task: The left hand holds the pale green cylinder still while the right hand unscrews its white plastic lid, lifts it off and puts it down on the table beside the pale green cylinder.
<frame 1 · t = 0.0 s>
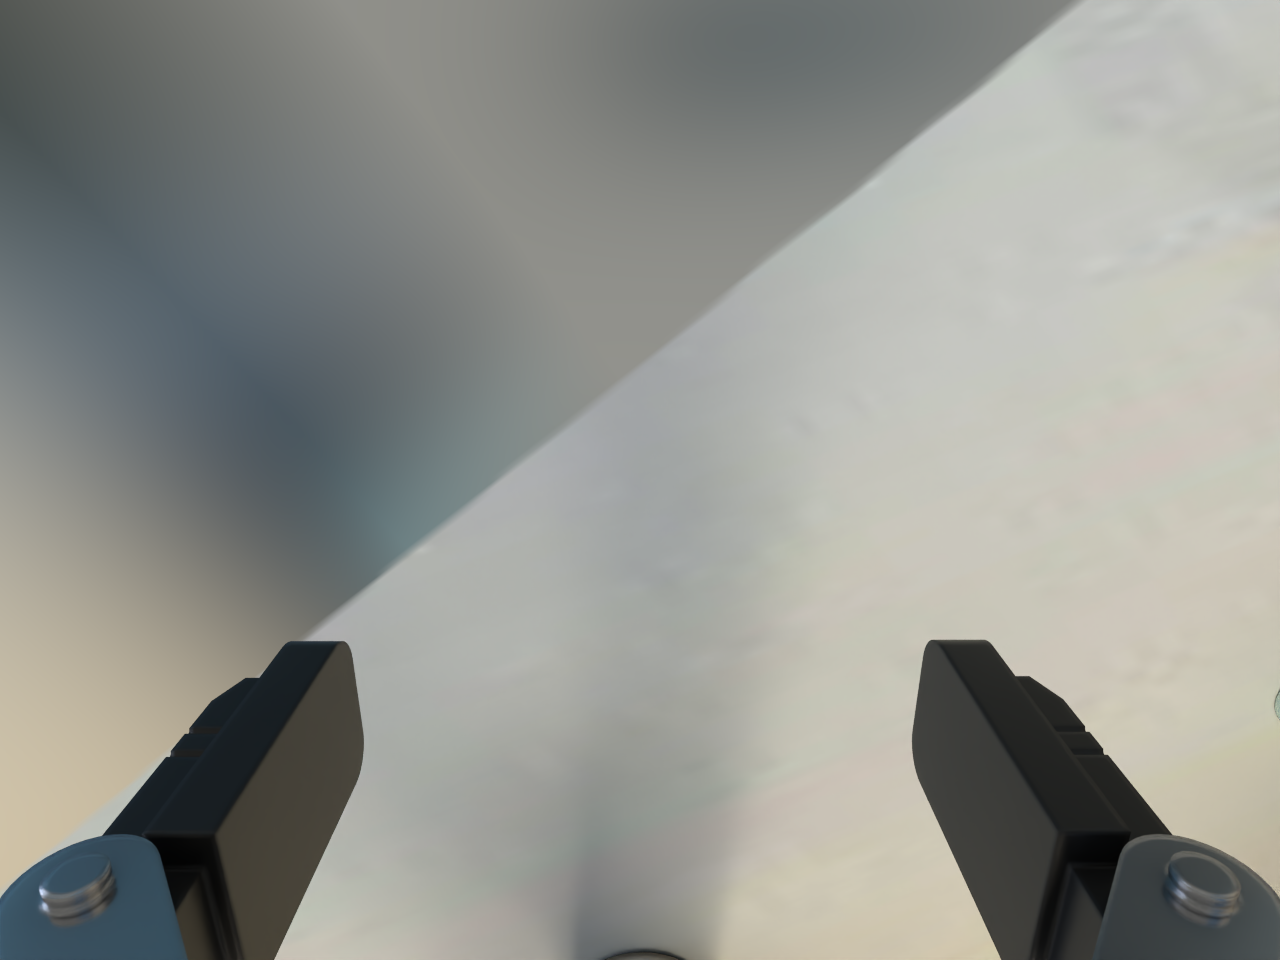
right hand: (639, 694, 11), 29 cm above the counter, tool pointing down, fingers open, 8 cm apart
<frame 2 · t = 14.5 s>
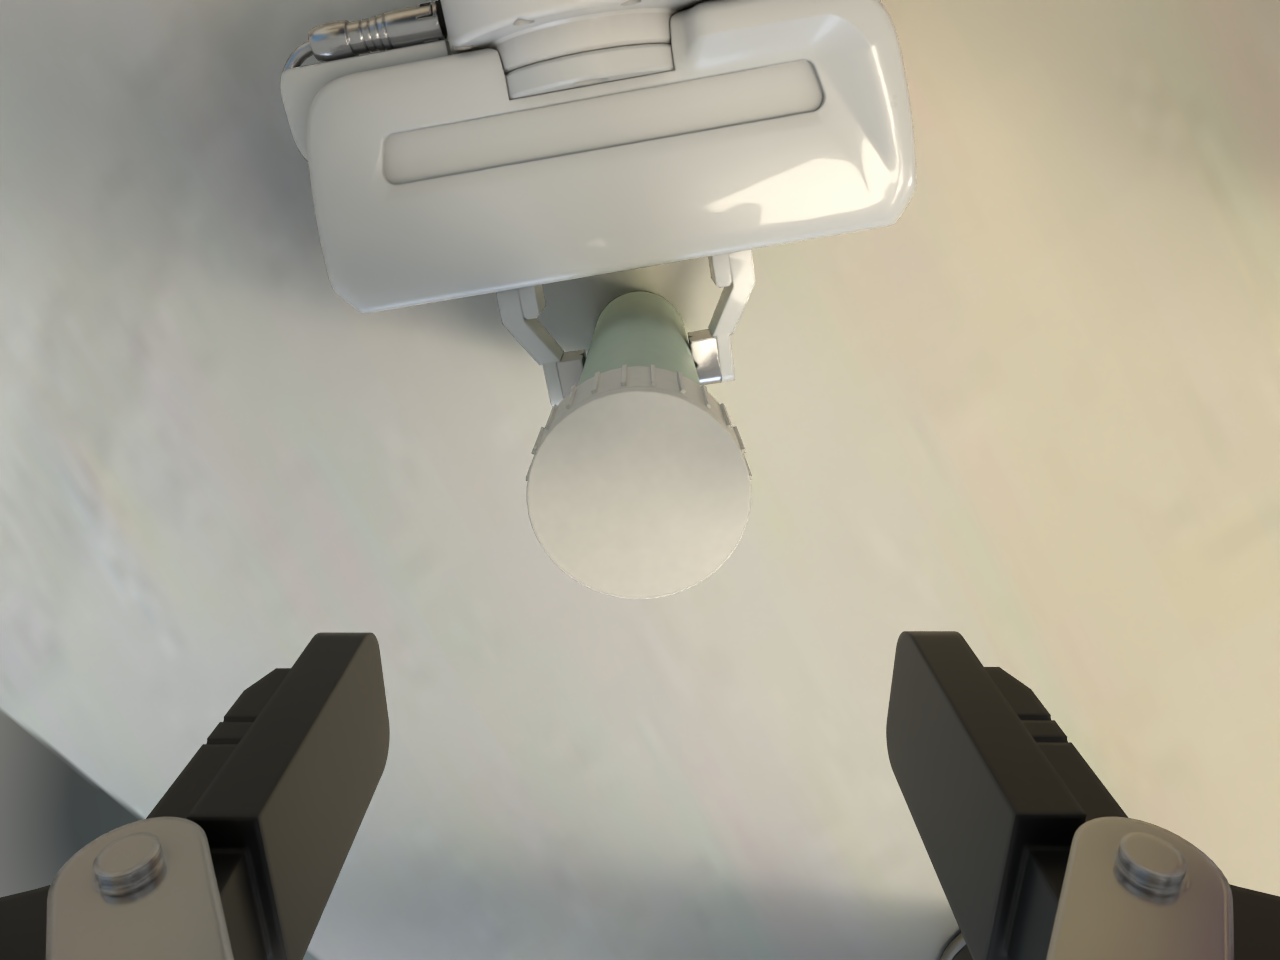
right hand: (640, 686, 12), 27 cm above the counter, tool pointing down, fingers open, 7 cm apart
left hand: (644, 391, 31), fingers closed on pale green cylinder, 4 cm apart
lid: (639, 494, 19), point 19 cm above the counter, screwed on, not yet turned
pale green cylinder: (639, 337, 37), on the counter, touching left hand
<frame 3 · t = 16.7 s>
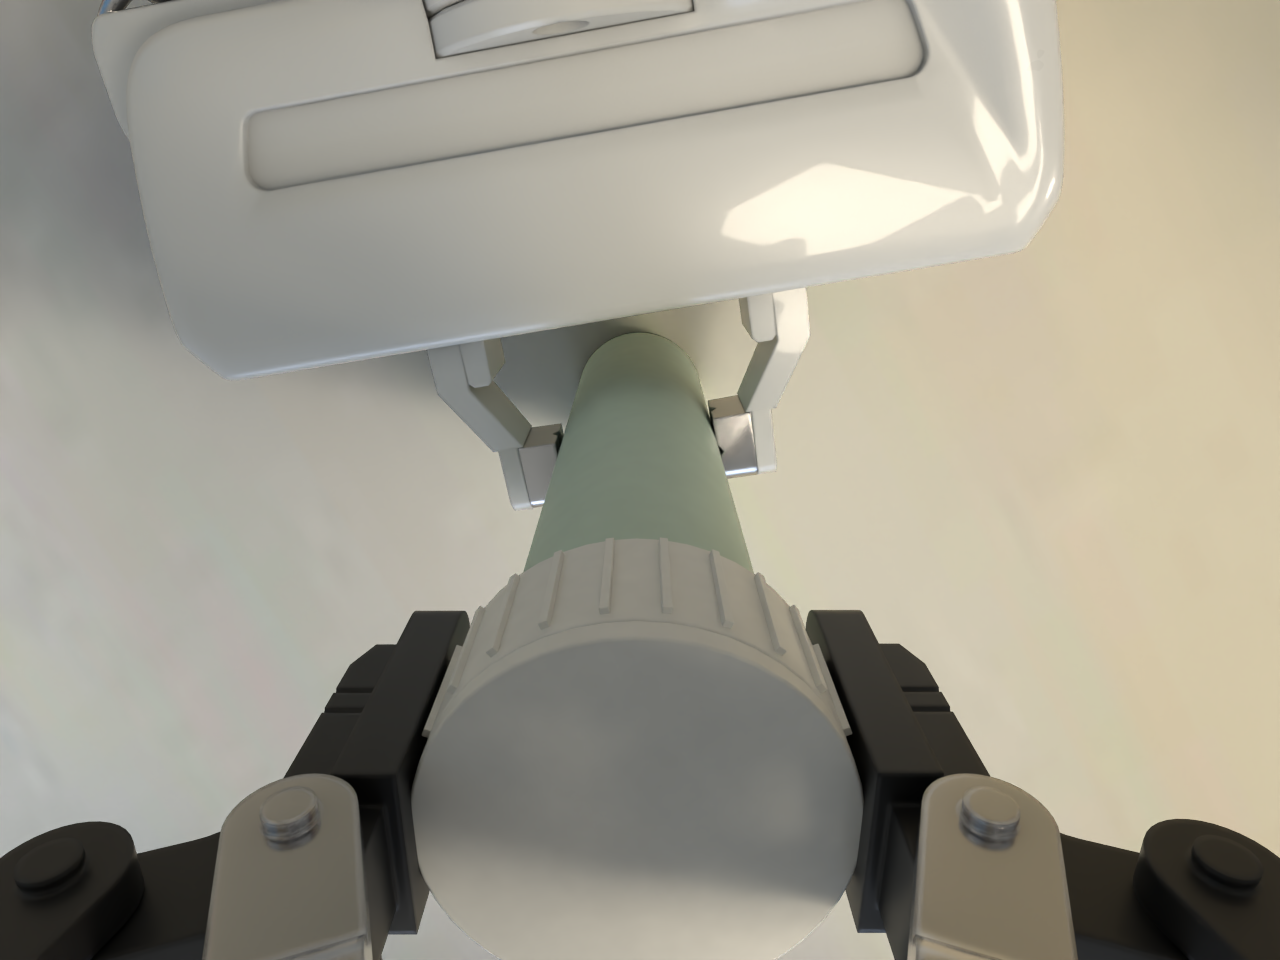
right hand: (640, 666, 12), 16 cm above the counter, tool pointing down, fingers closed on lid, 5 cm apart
left hand: (646, 484, 22), fingers closed on pale green cylinder, 4 cm apart
lid: (637, 812, 9), point 19 cm above the counter, screwed on, not yet turned, touching right hand
pale green cylinder: (639, 392, 27), on the counter, touching left hand
when the right hand's fingers open (16 cm above the counter, at t = 18.3 s): lid stays where it is, point 19 cm above the counter.
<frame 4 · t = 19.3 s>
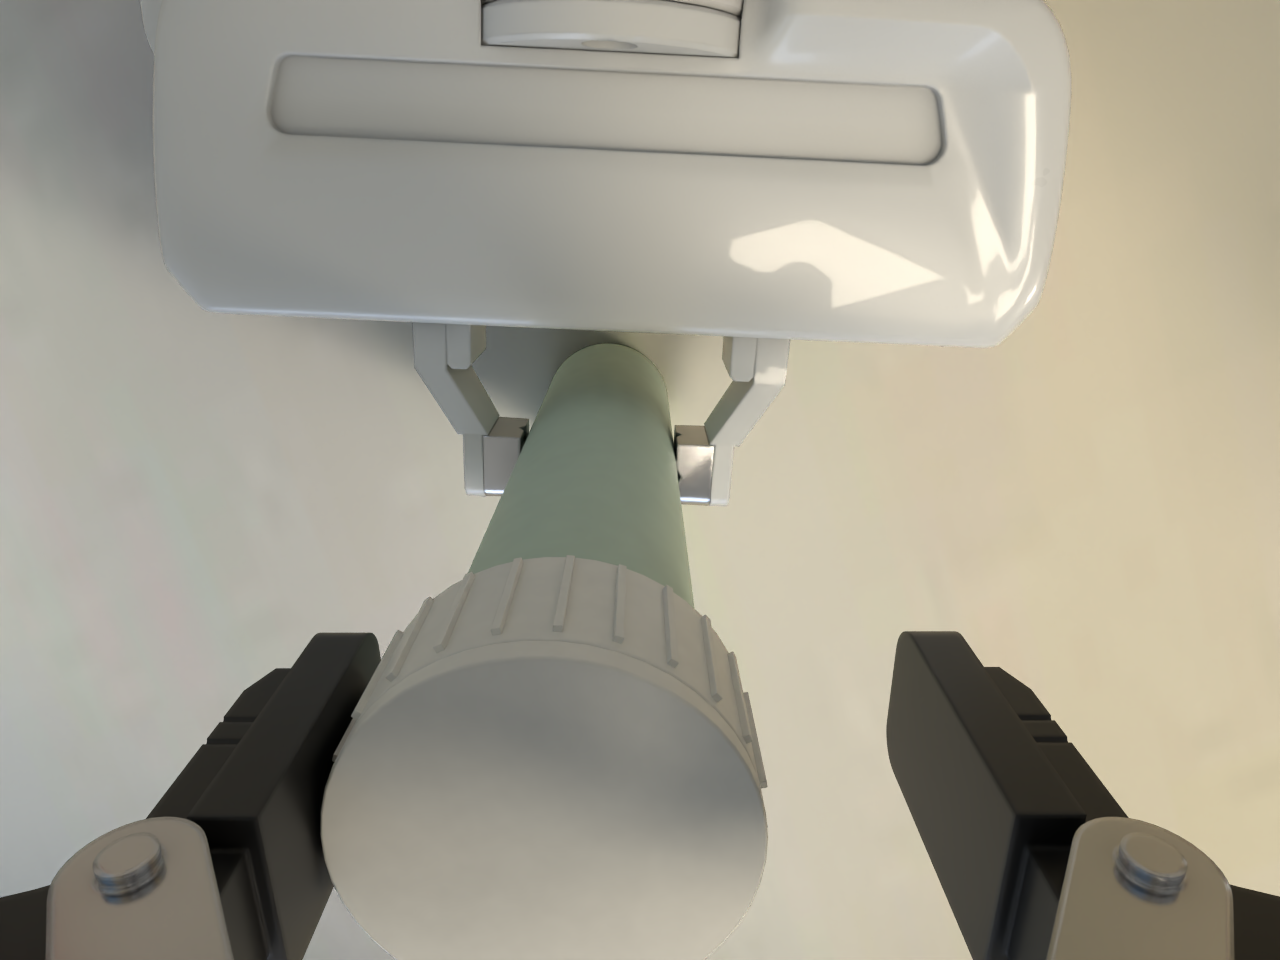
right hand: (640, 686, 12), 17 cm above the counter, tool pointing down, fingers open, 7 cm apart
lid: (547, 827, 10), point 19 cm above the counter, turned 90° so far, risen 0.2 cm, still on its thread
pale green cylinder: (608, 402, 28), on the counter, touching left hand
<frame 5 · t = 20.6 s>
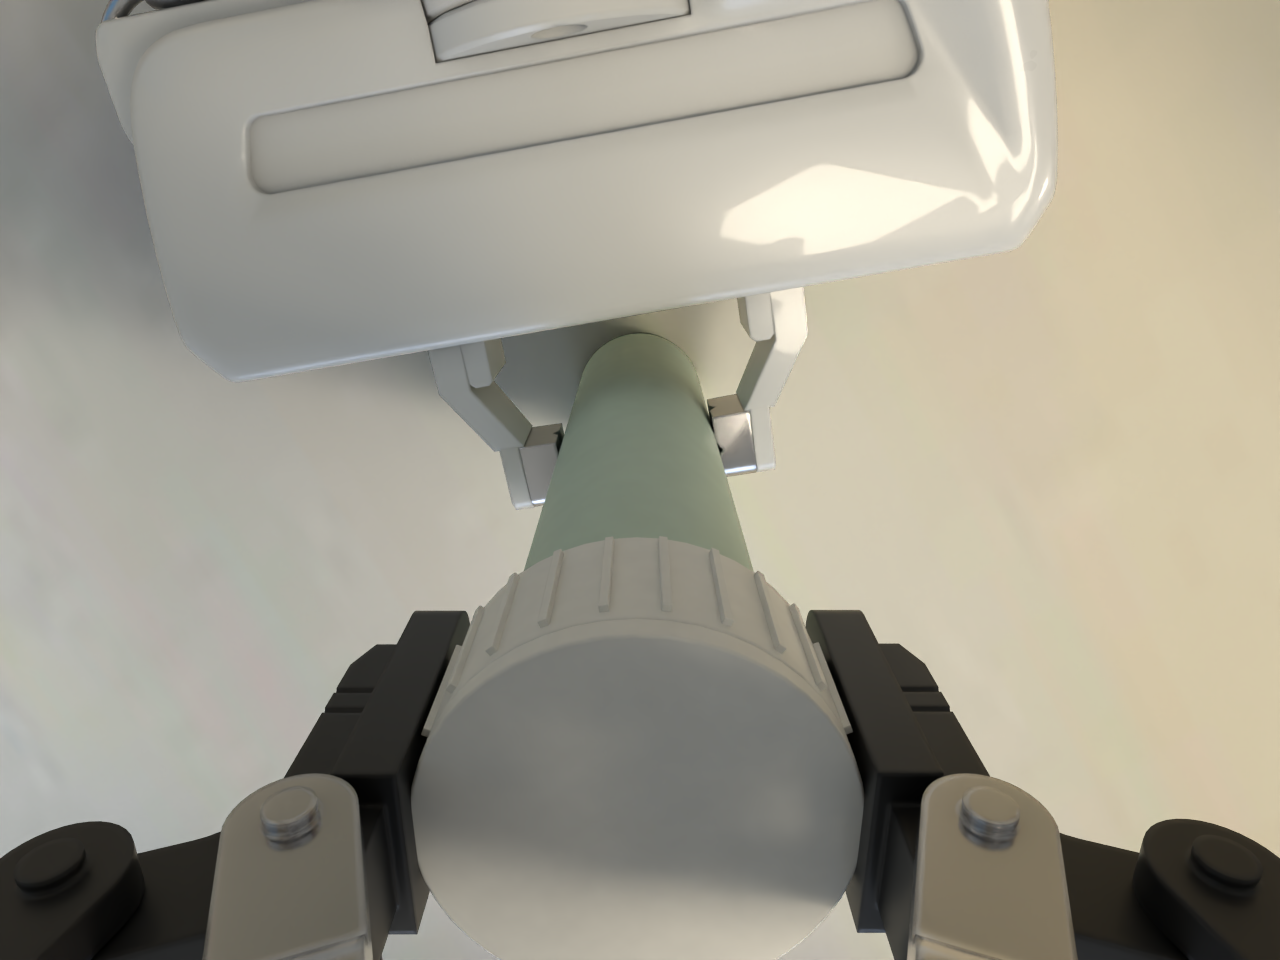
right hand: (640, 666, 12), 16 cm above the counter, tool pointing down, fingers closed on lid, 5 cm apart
left hand: (646, 483, 22), fingers closed on pale green cylinder, 4 cm apart
lid: (637, 811, 9), point 19 cm above the counter, turned 90° so far, risen 0.2 cm, still on its thread, touching right hand
pale green cylinder: (639, 393, 27), on the counter, touching left hand
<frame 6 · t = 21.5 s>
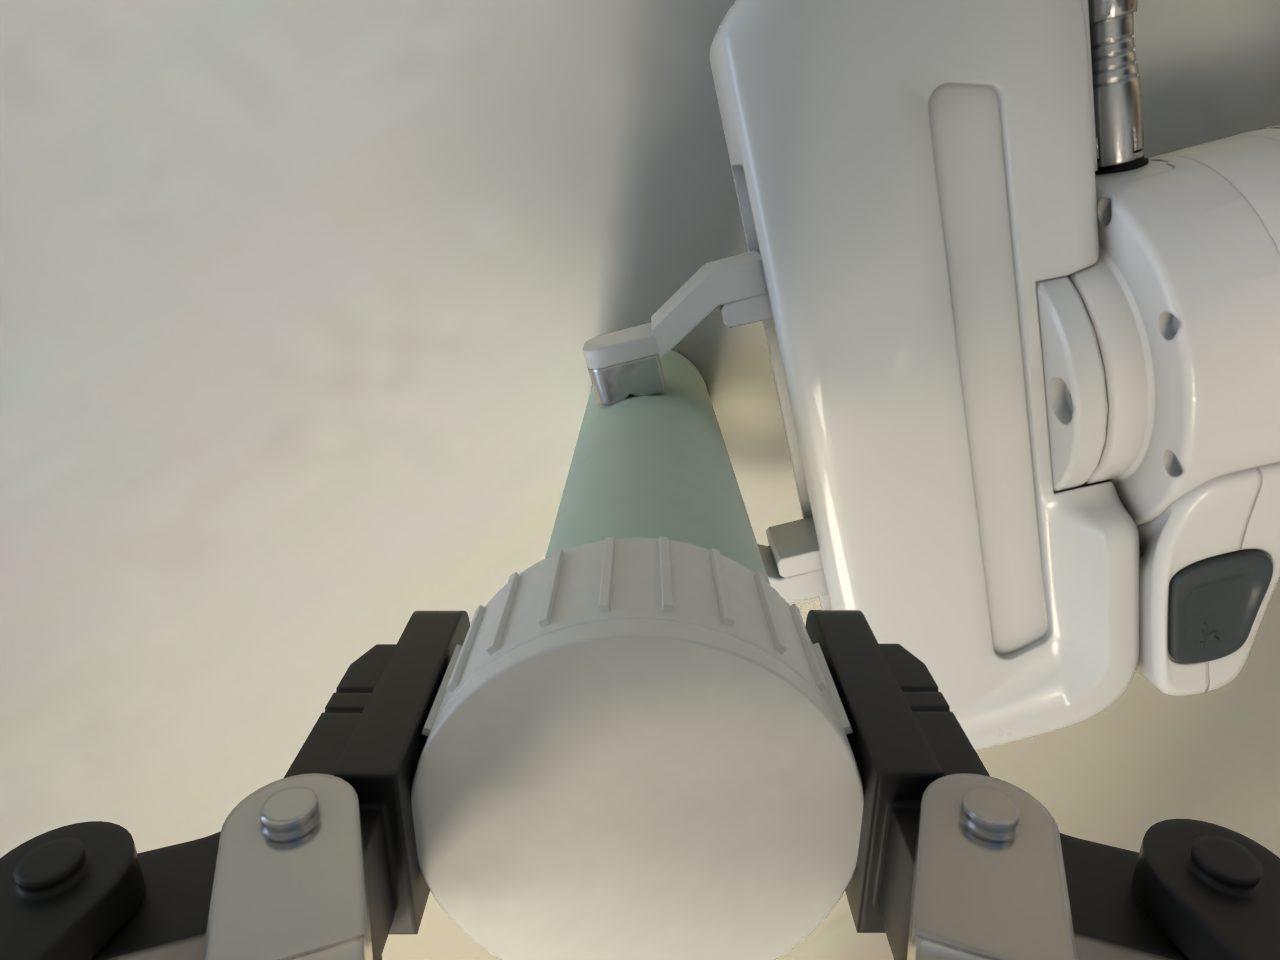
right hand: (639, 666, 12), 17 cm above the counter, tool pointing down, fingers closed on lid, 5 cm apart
left hand: (618, 470, 22), fingers closed on pale green cylinder, 4 cm apart
lid: (637, 811, 9), point 19 cm above the counter, off its thread, touching right hand
pale green cylinder: (649, 404, 28), on the counter, touching left hand
when the right hand's fingers open (1 cm above the counter, at t = 26.8 s): lid drops 2 cm, point 2 cm above the counter.
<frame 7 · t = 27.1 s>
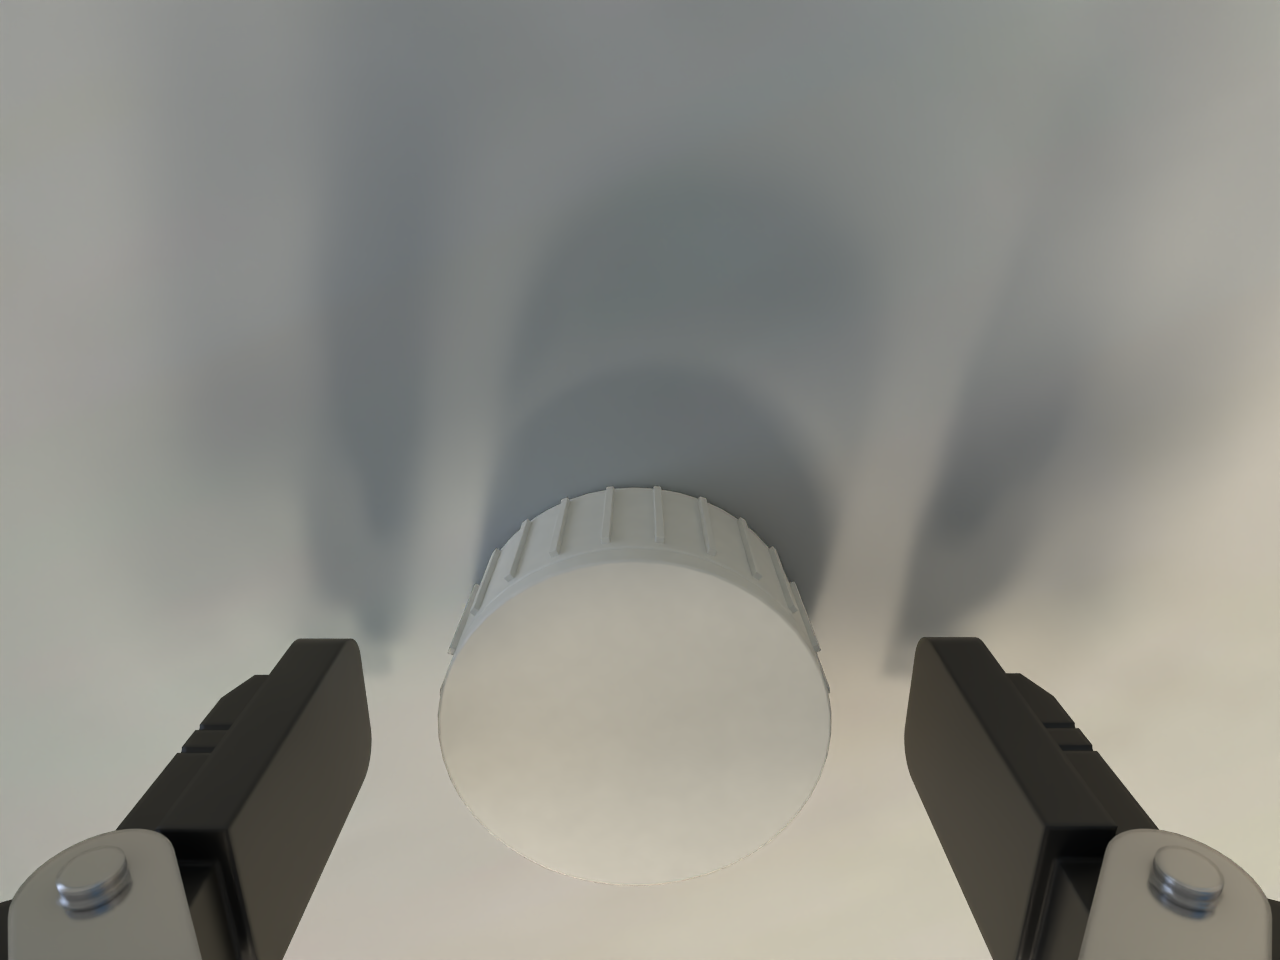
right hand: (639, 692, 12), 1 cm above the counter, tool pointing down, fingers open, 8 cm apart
lid: (634, 720, 11), point 2 cm above the counter, off its thread
when the left hand's fingers open (6 cm above the counter, at t = 27.8 s): pale green cylinder stays where it is, on the counter.
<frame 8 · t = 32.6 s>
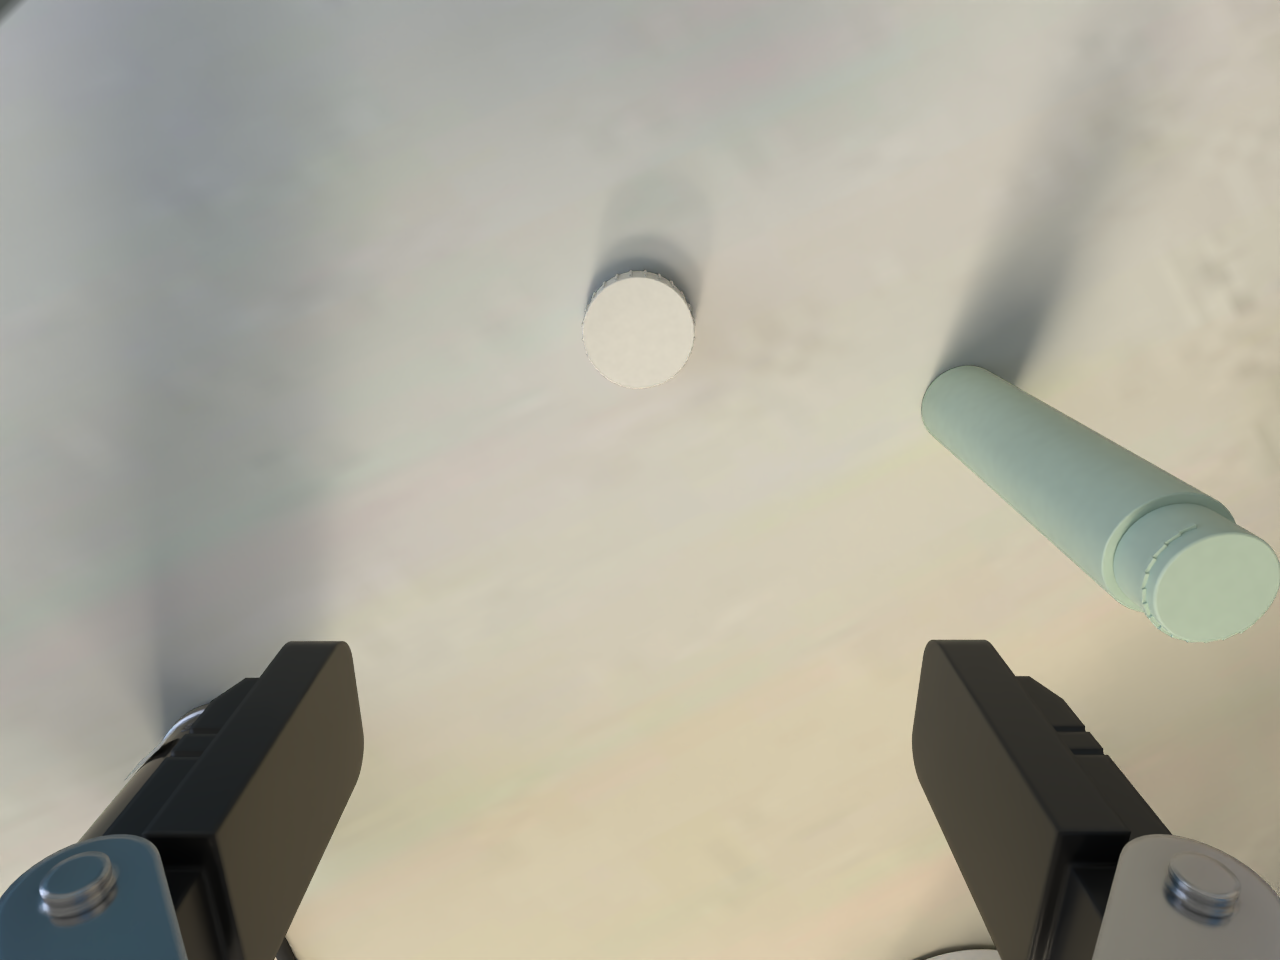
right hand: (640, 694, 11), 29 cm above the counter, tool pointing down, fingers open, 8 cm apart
lid: (638, 332, 37), point 2 cm above the counter, off its thread
pale green cylinder: (962, 405, 40), on the counter
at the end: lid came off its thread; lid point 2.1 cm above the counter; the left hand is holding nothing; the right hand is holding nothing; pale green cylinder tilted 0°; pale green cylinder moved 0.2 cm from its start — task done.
